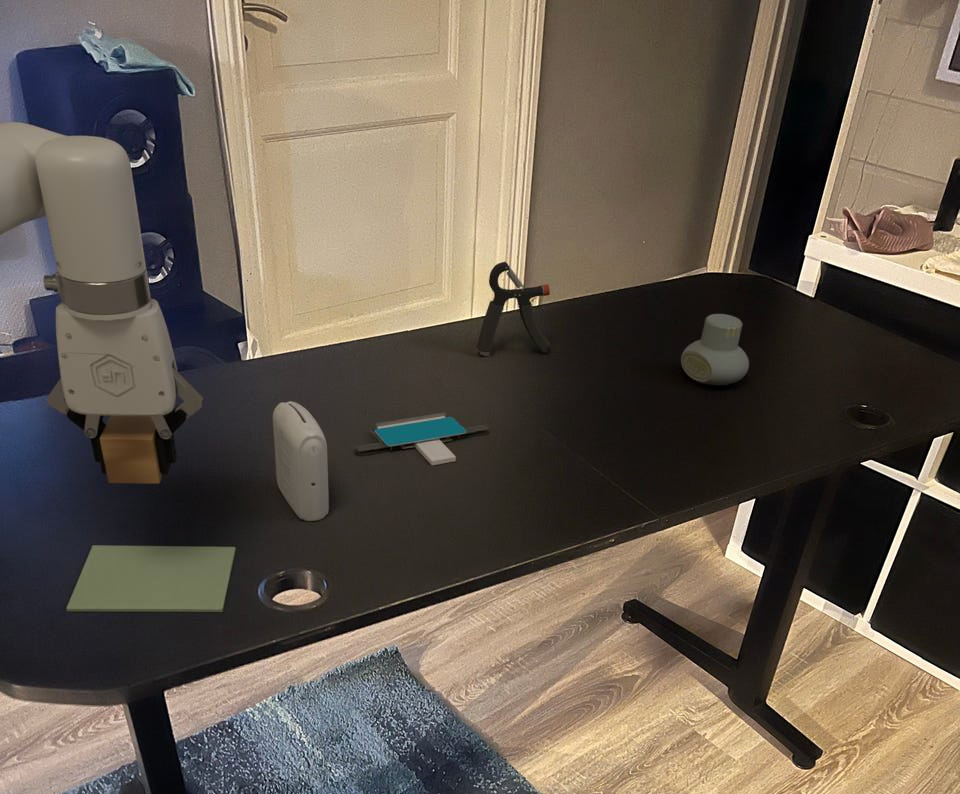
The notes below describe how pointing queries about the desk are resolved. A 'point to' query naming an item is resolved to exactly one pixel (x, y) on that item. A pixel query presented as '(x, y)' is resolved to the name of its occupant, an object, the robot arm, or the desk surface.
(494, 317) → the hand grip strengthener
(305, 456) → the photo printer
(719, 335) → the air freshener
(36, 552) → the desk surface
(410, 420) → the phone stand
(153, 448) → the block
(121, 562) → the mat
